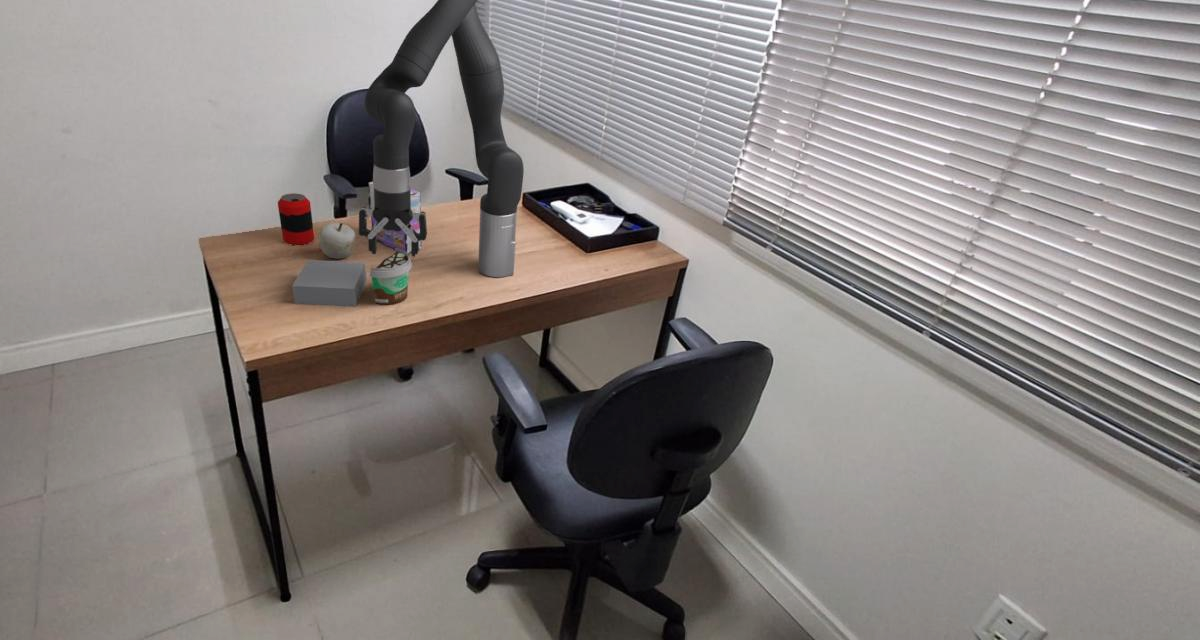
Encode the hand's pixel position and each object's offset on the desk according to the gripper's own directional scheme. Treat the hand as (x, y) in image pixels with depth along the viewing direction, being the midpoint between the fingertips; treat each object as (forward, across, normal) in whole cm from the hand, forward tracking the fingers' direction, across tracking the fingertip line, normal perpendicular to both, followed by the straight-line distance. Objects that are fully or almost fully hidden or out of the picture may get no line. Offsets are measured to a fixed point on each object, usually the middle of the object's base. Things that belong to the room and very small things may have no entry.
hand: (394, 254), depth 139 cm
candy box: (+12, +4, -30) cm, 32 cm away
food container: (+12, 0, 0) cm, 12 cm away
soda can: (+12, +29, -29) cm, 42 cm away
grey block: (+12, +14, -2) cm, 19 cm away
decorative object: (+12, +17, -20) cm, 28 cm away
